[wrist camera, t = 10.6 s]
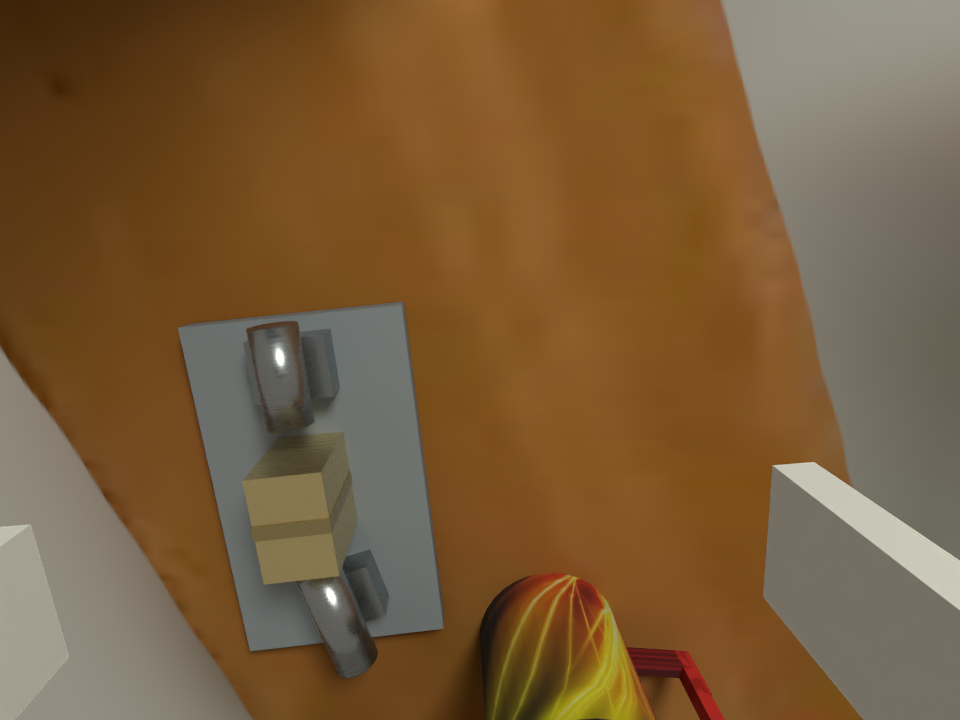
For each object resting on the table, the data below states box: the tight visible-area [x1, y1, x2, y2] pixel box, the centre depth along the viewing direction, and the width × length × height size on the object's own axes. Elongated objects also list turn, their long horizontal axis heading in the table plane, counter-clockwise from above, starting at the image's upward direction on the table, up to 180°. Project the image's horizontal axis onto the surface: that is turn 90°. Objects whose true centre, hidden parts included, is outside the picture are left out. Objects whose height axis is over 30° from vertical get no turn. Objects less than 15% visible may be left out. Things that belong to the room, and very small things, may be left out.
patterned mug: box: [480, 573, 725, 720], centre depth 34 cm, size 10×14×12 cm
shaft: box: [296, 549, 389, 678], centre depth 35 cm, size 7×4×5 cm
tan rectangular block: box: [242, 431, 358, 585], centre depth 32 cm, size 6×4×6 cm
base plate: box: [178, 302, 444, 651], centre depth 36 cm, size 22×13×2 cm, turn 6°
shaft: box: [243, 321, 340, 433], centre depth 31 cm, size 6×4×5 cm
